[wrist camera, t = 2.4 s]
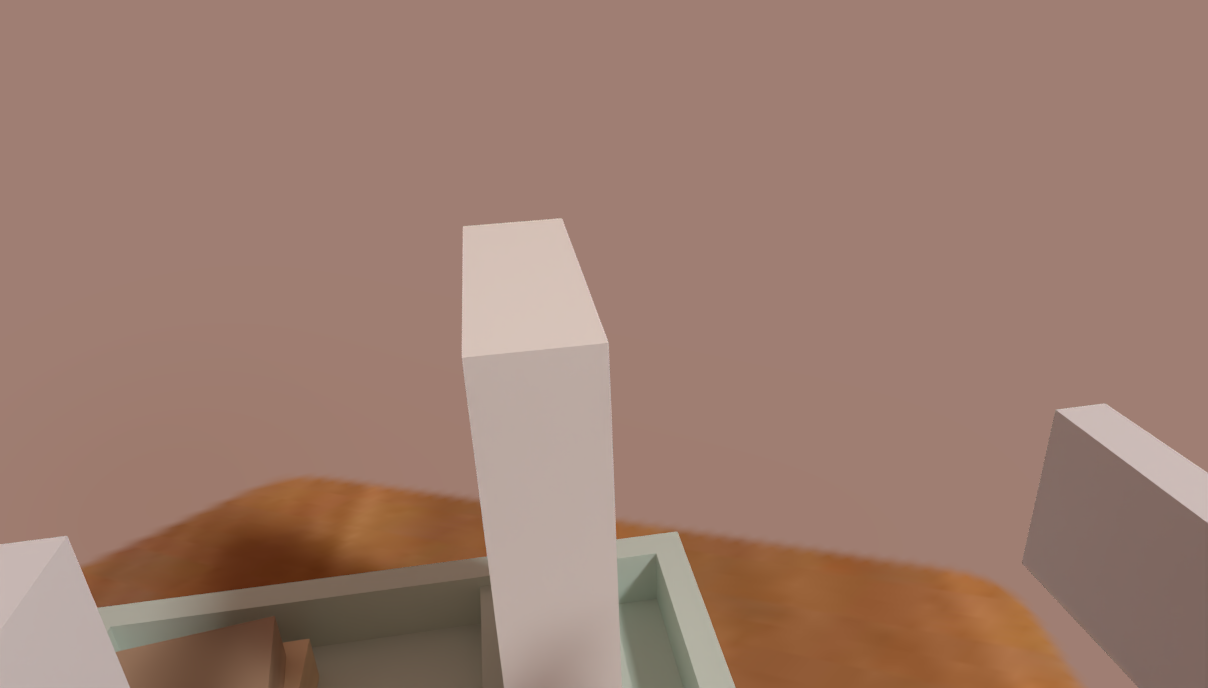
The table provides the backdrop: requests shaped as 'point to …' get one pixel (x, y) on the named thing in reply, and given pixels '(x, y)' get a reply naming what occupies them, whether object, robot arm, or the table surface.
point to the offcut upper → (211, 659)
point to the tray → (447, 622)
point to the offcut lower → (300, 665)
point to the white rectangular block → (542, 454)
